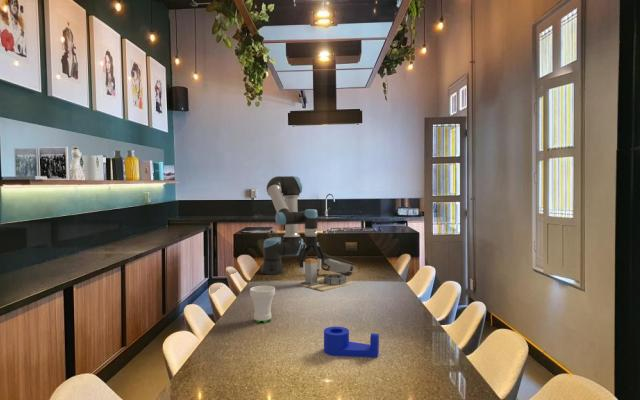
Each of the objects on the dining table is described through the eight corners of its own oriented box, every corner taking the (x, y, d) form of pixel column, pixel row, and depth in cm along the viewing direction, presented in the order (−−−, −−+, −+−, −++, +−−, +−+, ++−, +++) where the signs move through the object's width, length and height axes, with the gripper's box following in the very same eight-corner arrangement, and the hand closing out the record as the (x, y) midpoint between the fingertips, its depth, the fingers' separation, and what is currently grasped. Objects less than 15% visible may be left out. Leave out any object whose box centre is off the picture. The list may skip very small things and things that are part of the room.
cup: (254, 326, 181) (254, 293, 181) (246, 318, 191) (246, 287, 190) (279, 322, 186) (279, 289, 186) (270, 315, 196) (270, 284, 196)
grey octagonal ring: (319, 282, 256) (319, 276, 256) (334, 278, 266) (334, 273, 265) (335, 286, 247) (335, 280, 247) (350, 282, 256) (350, 276, 256)
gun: (349, 285, 278) (355, 263, 277) (308, 273, 278) (315, 251, 277) (348, 283, 283) (355, 261, 282) (308, 271, 283) (315, 250, 282)
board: (296, 284, 254) (296, 283, 254) (327, 277, 272) (327, 276, 272) (323, 291, 238) (323, 290, 238) (353, 283, 256) (353, 282, 256)
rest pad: (300, 283, 254) (300, 282, 254) (311, 280, 260) (311, 280, 260) (310, 286, 247) (310, 285, 247) (321, 283, 254) (321, 282, 254)
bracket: (321, 355, 152) (321, 334, 151) (327, 345, 160) (327, 325, 160) (376, 360, 147) (376, 338, 147) (379, 350, 156) (379, 329, 155)
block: (311, 284, 250) (311, 260, 249) (305, 282, 254) (305, 259, 253) (317, 282, 254) (317, 259, 253) (311, 281, 257) (311, 258, 257)
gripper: (299, 238, 241) (299, 275, 242) (330, 234, 258) (330, 268, 260) (290, 236, 246) (290, 273, 247) (321, 233, 264) (321, 267, 265)
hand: (311, 271), depth 253 cm, fingers open, 13 cm apart
